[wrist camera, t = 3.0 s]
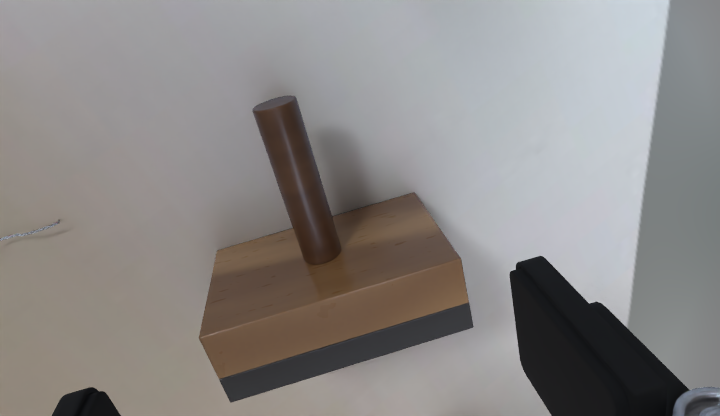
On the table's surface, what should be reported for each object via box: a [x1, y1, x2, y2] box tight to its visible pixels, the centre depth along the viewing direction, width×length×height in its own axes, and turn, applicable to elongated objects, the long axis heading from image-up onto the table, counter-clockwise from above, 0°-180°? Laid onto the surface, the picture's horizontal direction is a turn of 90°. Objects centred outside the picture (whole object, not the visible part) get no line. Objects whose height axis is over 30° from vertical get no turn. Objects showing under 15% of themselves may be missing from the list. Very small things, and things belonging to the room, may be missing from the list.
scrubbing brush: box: [199, 96, 473, 402], centre depth 25 cm, size 12×12×8 cm
